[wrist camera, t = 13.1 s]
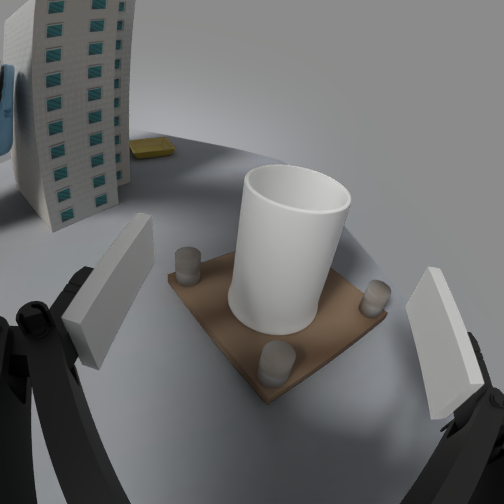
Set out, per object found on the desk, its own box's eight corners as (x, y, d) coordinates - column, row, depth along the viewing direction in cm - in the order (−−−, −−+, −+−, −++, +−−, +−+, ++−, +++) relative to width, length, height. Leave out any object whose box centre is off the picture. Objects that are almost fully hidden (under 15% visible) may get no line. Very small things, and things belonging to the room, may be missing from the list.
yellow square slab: (165, 145, 67) (165, 136, 65) (176, 158, 61) (176, 148, 59) (127, 149, 63) (126, 140, 61) (133, 163, 57) (132, 153, 56)
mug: (299, 254, 37) (323, 155, 30) (354, 299, 32) (396, 195, 25) (210, 288, 31) (218, 170, 24) (265, 351, 26) (297, 226, 19)
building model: (148, 192, 47) (156, -8, 30) (52, 232, 36) (36, -6, 19) (90, 159, 56) (91, 10, 39) (16, 186, 45) (4, 21, 28)
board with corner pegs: (168, 282, 32) (166, 250, 30) (284, 240, 41) (290, 212, 39) (267, 404, 23) (276, 378, 20) (384, 319, 31) (399, 291, 29)
